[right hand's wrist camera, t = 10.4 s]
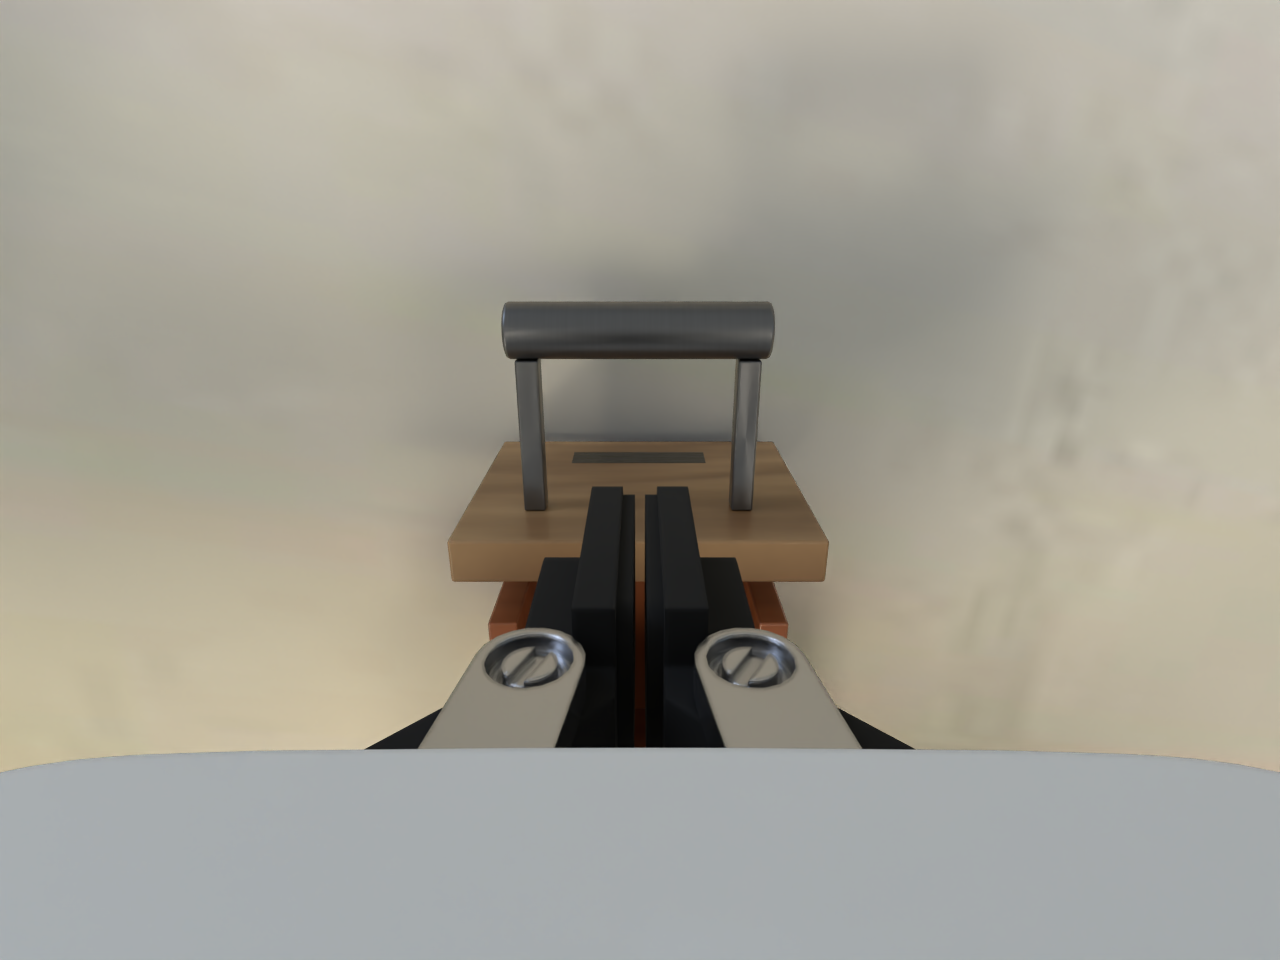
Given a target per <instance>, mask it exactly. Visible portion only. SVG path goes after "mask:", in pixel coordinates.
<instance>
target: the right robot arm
mask: <svg viewBox="0 0 1280 960" xmlns="http://www.w3.org/2000/svg"><path fill="white" fill-rule="evenodd" d="M634 734H635V494H623V486H592V489H591V495H590V501H589V507H588V513H587V519H586V524H585V530H584V536H583V542H582V548H581V554H580V557H545V558H544V560H543V563H542V567H541V571H540V574H539V578H538V582H537V585H536V589H535V593H534V596H533V600H532V604H531V607H530V611H529V615H528V618H527V622H526V626H525V629H520V630H514V631H510V632H508V633H505V634H502V635H500V636H497V637H495V638H494V639H492V640H491V641H489V642H488V643H486V644H484V646H483V647H482V648H481V649H480V650H479V651H478V652H477V653H476V655H475V656H474V658H473V660H472V661H471V663H470V664H469V666H468V668H467V669H466V671H465V673H464V674H463V676H462V677H461V679H460V681H459V682H458V684H457V686H456V687H455V689H454V690H453V692H452V694H451V695H450V697H449V699H448V700H447V702H446V703H445V705H444V707H443V708H441V709H439V710H437V711H436V712H434V713H432V714H430V715H428V716H426V717H424V718H422V719H421V720H419V721H417V722H415V723H413V724H411V725H409V726H407V727H406V728H404V729H402V730H400V731H398V732H396V733H394V734H392V735H391V736H389V737H387V738H385V739H383V740H381V741H379V742H377V743H376V744H374V745H372V746H370V747H368V748H366V749H364V750H288V751H239V752H208V753H177V754H146V755H125V756H113V757H102V758H90V759H79V760H70V761H63V762H56V763H50V764H43V765H36V766H30V767H25V768H20V769H15V770H10V771H5V772H0V960H1280V772H1275V771H1270V770H1265V769H1260V768H1254V767H1249V766H1244V765H1238V764H1231V763H1224V762H1217V761H1209V760H1200V759H1191V758H1179V757H1168V756H1155V755H1134V754H1108V753H1073V752H1037V751H1001V750H916V749H914V748H912V747H910V746H908V745H906V744H904V743H903V742H901V741H899V740H897V739H895V738H893V737H891V736H889V735H888V734H886V733H884V732H882V731H880V730H878V729H876V728H874V727H873V726H871V725H869V724H867V723H865V722H863V721H861V720H859V719H858V718H856V717H854V716H852V715H850V714H848V713H846V712H844V711H843V710H841V709H839V708H837V707H836V705H835V703H834V702H833V700H832V699H831V697H830V695H829V694H828V692H827V690H826V689H825V687H824V686H823V684H822V682H821V681H820V679H819V677H818V676H817V674H816V673H815V671H814V669H813V668H812V666H811V664H810V663H809V661H808V660H807V658H806V656H805V655H804V653H803V652H802V651H801V650H800V649H799V648H798V647H797V646H796V644H794V643H792V642H791V641H789V640H788V639H786V638H785V637H783V636H780V635H778V634H775V633H772V632H770V631H766V630H760V629H755V626H754V622H753V618H752V615H751V611H750V607H749V604H748V600H747V596H746V593H745V589H744V585H743V582H742V578H741V574H740V571H739V567H738V563H737V560H736V558H735V557H700V554H699V548H698V542H697V536H696V530H695V524H694V519H693V513H692V507H691V501H690V495H689V489H688V486H657V494H645V734H646V748H634Z"/></svg>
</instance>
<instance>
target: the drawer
mask: <svg viewBox="0 0 1280 960" xmlns="http://www.w3.org/2000/svg"><path fill="white" fill-rule="evenodd" d="M501 329H502V342H503V347H504V351H505V354H506V356H507V357H508V358H510V359H516V361H515V375H516V390H517V405H518V420H519V435H520V442H504V444H503V446H502V448H501V449H500V451H499V453H498V455H497V456H496V458H495V460H494V462H493V463H492V465H491V467H490V469H489V470H488V472H487V474H486V476H485V477H484V479H483V481H482V483H481V484H480V486H479V488H478V490H477V491H476V493H475V495H474V496H473V498H472V500H471V502H470V503H469V505H468V507H467V509H466V510H465V512H464V514H463V516H462V517H461V519H460V521H459V523H458V524H457V526H456V528H455V530H454V531H453V533H452V535H451V537H450V538H449V540H448V552H449V560H450V569H451V578H452V581H454V582H503V585H502V587H501V590H500V593H499V596H498V598H497V601H496V604H495V607H494V609H493V612H492V615H491V618H490V620H489V623H488V628H489V638H490V641H491V640H492V639H494V638H495V637H497V636H500V635H502V634H505V633H508V632H510V631H514V630H520V629H525V626H526V622H527V618H528V615H529V611H530V607H531V604H532V600H533V596H534V593H535V589H536V585H537V582H538V578H539V574H540V571H541V567H542V563H543V560H544V558H545V557H580V554H581V548H582V542H583V536H584V530H585V524H586V519H587V513H588V507H589V501H590V495H591V489H592V486H623V494H635V734H634V748H646V734H645V494H657V486H688V489H689V495H690V501H691V507H692V513H693V519H694V524H695V530H696V536H697V542H698V548H699V554H700V557H735V558H736V560H737V563H738V567H739V571H740V574H741V578H742V582H743V585H744V589H745V593H746V596H747V600H748V604H749V607H750V611H751V615H752V618H753V622H754V626H755V629H760V630H766V631H770V632H772V633H775V634H778V635H780V636H783V637H785V638H786V639H787V633H788V622H787V619H786V616H785V614H784V611H783V608H782V605H781V602H780V599H779V597H778V594H777V591H776V588H775V585H774V582H822V581H824V580H825V574H826V565H827V556H828V547H829V542H828V539H827V538H826V536H825V534H824V532H823V530H822V529H821V527H820V525H819V523H818V522H817V520H816V518H815V516H814V514H813V513H812V511H811V509H810V507H809V505H808V504H807V502H806V500H805V498H804V496H803V495H802V493H801V491H800V489H799V488H798V486H797V484H796V482H795V480H794V479H793V477H792V475H791V473H790V471H789V470H788V468H787V466H786V464H785V463H784V461H783V459H782V457H781V455H780V454H779V452H778V450H777V448H776V446H775V445H774V443H773V442H757V428H758V413H759V398H760V382H761V367H762V362H761V360H760V359H767V358H769V357H770V355H771V352H772V349H773V344H774V335H775V316H774V310H773V306H772V304H771V303H770V302H507V303H505V304H504V307H503V311H502V321H501ZM541 359H736V367H735V387H734V406H733V426H732V442H545V432H544V413H543V394H542V375H541Z"/></svg>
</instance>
